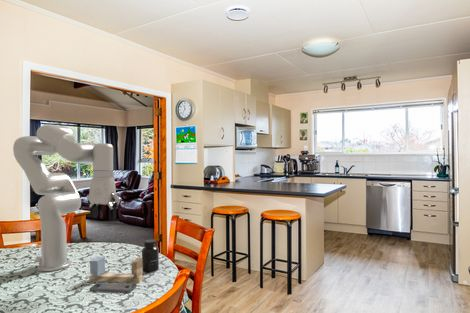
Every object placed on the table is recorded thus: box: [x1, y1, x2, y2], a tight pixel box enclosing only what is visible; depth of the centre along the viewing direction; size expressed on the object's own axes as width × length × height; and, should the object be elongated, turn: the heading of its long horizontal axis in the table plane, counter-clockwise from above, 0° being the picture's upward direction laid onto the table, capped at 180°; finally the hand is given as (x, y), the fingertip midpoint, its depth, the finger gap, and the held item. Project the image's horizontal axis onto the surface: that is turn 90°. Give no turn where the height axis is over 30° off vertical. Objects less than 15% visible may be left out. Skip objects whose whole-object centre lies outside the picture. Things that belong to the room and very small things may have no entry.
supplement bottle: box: [141, 239, 160, 273], centre depth 131 cm, size 7×7×12 cm
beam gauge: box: [88, 257, 144, 284], centre depth 118 cm, size 20×10×8 cm, turn 82°
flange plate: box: [89, 282, 137, 294], centre depth 112 cm, size 15×5×1 cm, turn 82°
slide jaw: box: [84, 256, 106, 280], centre depth 119 cm, size 3×10×6 cm, turn 172°
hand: (103, 218), depth 125 cm, fingers open, 9 cm apart
